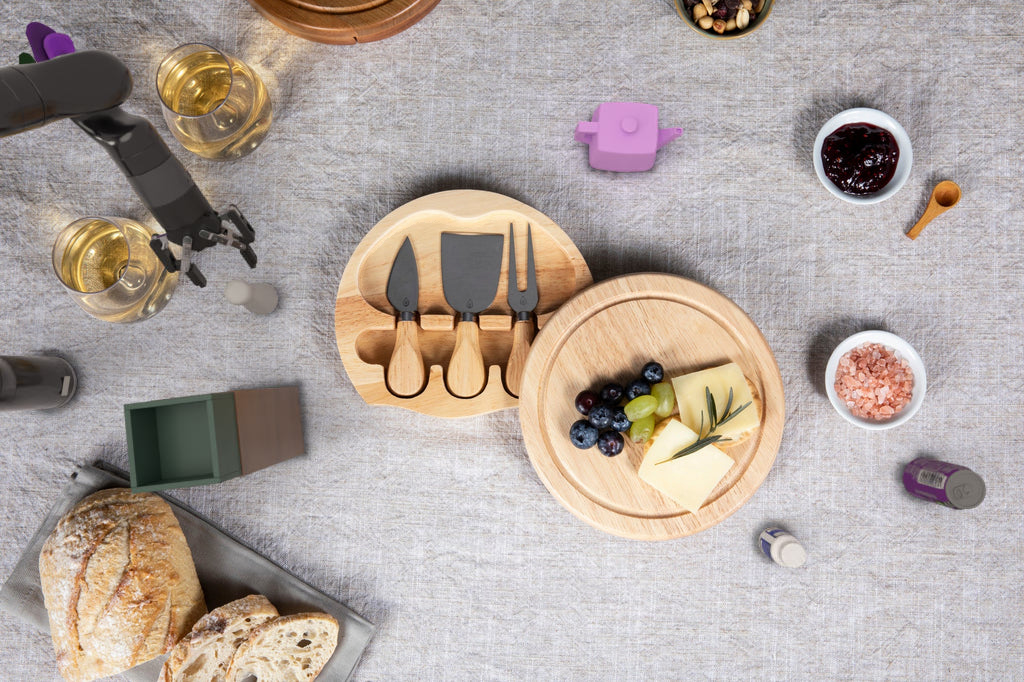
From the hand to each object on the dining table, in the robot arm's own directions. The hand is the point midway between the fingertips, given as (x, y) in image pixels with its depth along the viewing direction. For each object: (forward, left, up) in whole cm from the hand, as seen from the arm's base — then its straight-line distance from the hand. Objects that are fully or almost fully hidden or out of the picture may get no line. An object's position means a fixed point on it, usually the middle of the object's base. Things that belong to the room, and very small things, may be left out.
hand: (229, 275), depth 107 cm
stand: (-1, -25, -13) cm, 28 cm away
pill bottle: (+85, -56, -13) cm, 102 cm away
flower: (-30, +39, -13) cm, 51 cm away
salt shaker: (+1, -3, -13) cm, 13 cm away
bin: (-1, -25, +13) cm, 28 cm away
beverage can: (+112, -48, -13) cm, 122 cm away
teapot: (+68, +17, -13) cm, 71 cm away
